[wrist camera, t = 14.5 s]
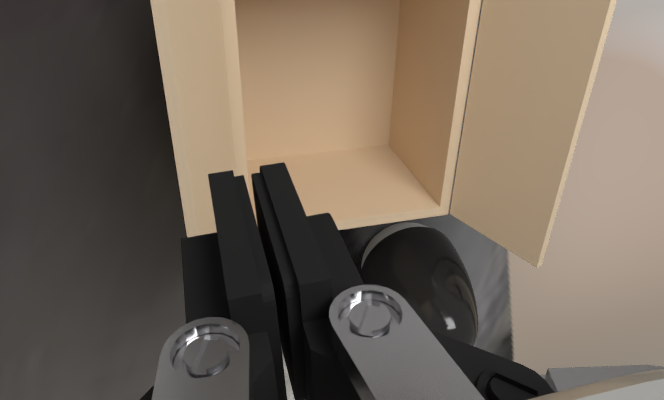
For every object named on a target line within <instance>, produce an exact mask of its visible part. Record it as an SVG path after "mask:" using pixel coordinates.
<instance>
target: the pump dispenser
mask: <svg viewBox="0 0 664 400" xmlns="http://www.w3.org/2000/svg"><path fill="white" fill-rule="evenodd" d="M361 279H362V281H363V283H364V285H378V286H383V287H387V288H389V289H391V290H393V291H395V292H397V293H399V294H400V295H401V296H402V297H403V298H404V299H405V300H406V301H407V302H408V304H409V305H410V306H411V307H412V309H413V310H414V311H415V312H416V314H417V315H418V316H419V317H420V319H421V320H422V321H423V322H424V324H425V325H426V326H427V327H428V329H429V330H432V331H434V332H437V333H440V334H442V335H445V336H448V337H450V338H453V339H455V340H458V341H461V342H463V343H466V344H469V345H471V346H474V344H475V341H476V338H477V333H478V314H477V306H476V301H475V296H474V292H473V288H472V285H471V281H470V279H469V276H468V273H467V271H466V269H465V266H464V264H463V262H462V260H461V258H460V256H459V255H458V253H457V251H456V249H455V248H454V246H453V245H452V243H451V242H450V240H449V239H448V238H447V237H446V236H445V235H444V234H443V233H441V232H440V231H438V230H436V229H433V228H430V227H428V226H425V225H423V224H419V223H414V222H403V223H398V224H394V225H391V226H389V227H387V228H385V229H383V230H382V231H380V232H379V233H378V234H377V235H375V236H374V238H373V239H372V240H371V241H370V242H369V244H368V246H367V247H366V249H365V252H364V255H363V258H362V265H361Z"/></svg>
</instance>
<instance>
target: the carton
mask: <svg viewBox="0 0 664 400" xmlns="http://www.w3.org/2000/svg"><path fill="white" fill-rule="evenodd" d="M220 5H221V16H222V27H223V38H224V49H225V60H226V71H227V82H228V93H229V105H230V116H231V127H232V138H233V149H234V160H235V171H236V176H241V175H244V178H245V182H246V185H247V189H248V193H249V197H250V200H251V204H252V208H253V212H254V215H255V219H256V223H257V218H256V210H255V202H254V194H253V186H252V178H251V174H253V173H260V166H262V165H269V164H275V163H282V162H284V163H285V164H286V167H287V169H288V172H289V174H290V177H291V179H292V182H293V184H294V186H295V189H296V191H297V194H298V196H299V199H300V201H301V204H302V206H303V209H304V211H305V213H306V216H311V215H317V214H322V213H330V214H331V216H332V218H333V220H334V222H335V224H336V226H337V228H338V230H343V229H350V228H357V227H364V226H371V225H378V224H385V223H392V222H399V221H406V220H413V219H420V218H427V217H434V216H441V215H448V212H449V206H450V199H451V193H452V186H453V180H454V174H455V167H456V161H457V154H458V148H459V141H460V135H461V128H462V122H463V116H464V109H465V103H466V96H467V90H468V83H469V77H470V71H471V64H472V58H473V51H474V45H475V38H476V32H477V25H478V19H479V13H480V6H481V0H220ZM257 227H258V226H257Z"/></svg>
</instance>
